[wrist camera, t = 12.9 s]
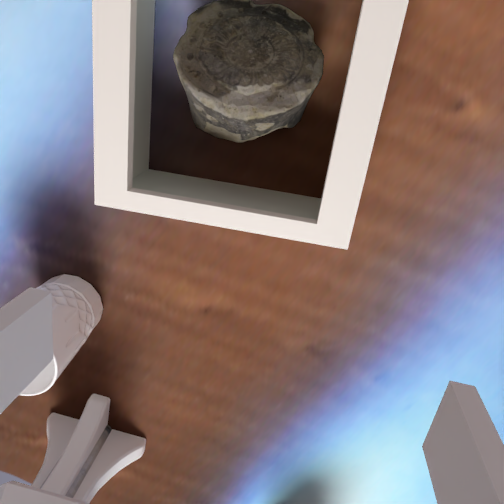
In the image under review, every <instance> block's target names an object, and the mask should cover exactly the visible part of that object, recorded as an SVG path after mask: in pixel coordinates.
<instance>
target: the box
mask: <svg viewBox="0 0 504 504" xmlns="http://www.w3.org/2000/svg"><path fill="white" fill-rule="evenodd" d="M408 2H409V0H363V1H362V6H361V11H360V16H359V21H358V25H357V30H356V35H355V40H354V45H353V49H352V54H351V59H350V64H349V68H348V73H347V78H346V83H345V88H344V92H343V97H342V102H341V107H340V112H339V116H338V121H337V126H336V131H335V136H334V140H333V145H332V150H331V155H330V160H329V164H328V169H327V174H326V179H325V184H324V188H323V193H322V198H315V197H310V196H304V195H298V194H292V193H286V192H280V191H274V190H268V189H263V188H257V187H251V186H245V185H239V184H233V183H227V182H221V181H216V180H210V179H204V178H198V177H192V176H186V175H180V174H174V173H169V172H163V171H157V170H151V169H149V149H150V123H151V97H152V72H153V46H154V20H155V0H92V31H93V111H94V190H95V205H100V206H105V207H111V208H117V209H122V210H128V211H133V212H139V213H145V214H150V215H156V216H161V217H167V218H173V219H178V220H184V221H189V222H195V223H201V224H206V225H212V226H218V227H223V228H229V229H234V230H240V231H246V232H251V233H257V234H262V235H268V236H274V237H279V238H285V239H291V240H296V241H302V242H307V243H313V244H319V245H324V246H330V247H335V248H341V249H347V250H348V246H349V241H350V237H351V233H352V229H353V225H354V221H355V217H356V213H357V209H358V205H359V201H360V197H361V193H362V189H363V185H364V181H365V176H366V172H367V168H368V164H369V160H370V156H371V152H372V148H373V144H374V140H375V136H376V132H377V128H378V124H379V120H380V115H381V111H382V107H383V103H384V99H385V95H386V91H387V87H388V83H389V79H390V75H391V71H392V67H393V63H394V59H395V55H396V50H397V46H398V42H399V38H400V34H401V30H402V26H403V22H404V18H405V14H406V10H407V6H408Z"/></svg>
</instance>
